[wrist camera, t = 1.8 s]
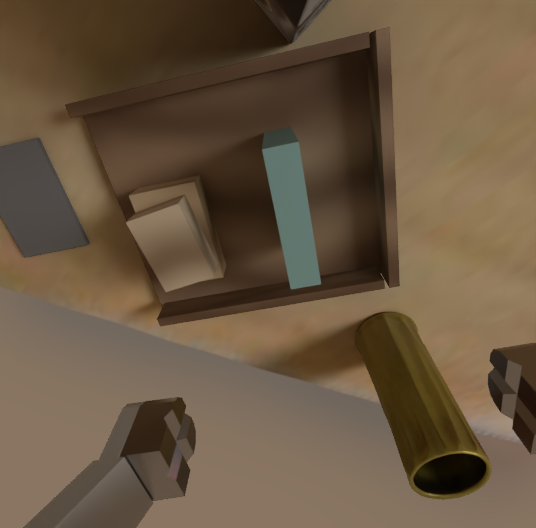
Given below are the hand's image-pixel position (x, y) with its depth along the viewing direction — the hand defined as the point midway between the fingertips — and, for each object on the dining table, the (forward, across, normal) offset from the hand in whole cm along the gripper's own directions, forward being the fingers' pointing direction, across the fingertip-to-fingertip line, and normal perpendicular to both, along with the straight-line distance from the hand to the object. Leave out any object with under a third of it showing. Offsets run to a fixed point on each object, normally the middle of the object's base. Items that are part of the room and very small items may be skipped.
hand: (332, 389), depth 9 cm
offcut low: (+20, +9, +1) cm, 22 cm away
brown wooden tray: (+21, +3, 0) cm, 21 cm away
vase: (+22, -7, +17) cm, 28 cm away
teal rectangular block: (+20, 0, 0) cm, 20 cm away
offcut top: (+18, +9, +1) cm, 20 cm away
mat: (+21, +21, -3) cm, 30 cm away
